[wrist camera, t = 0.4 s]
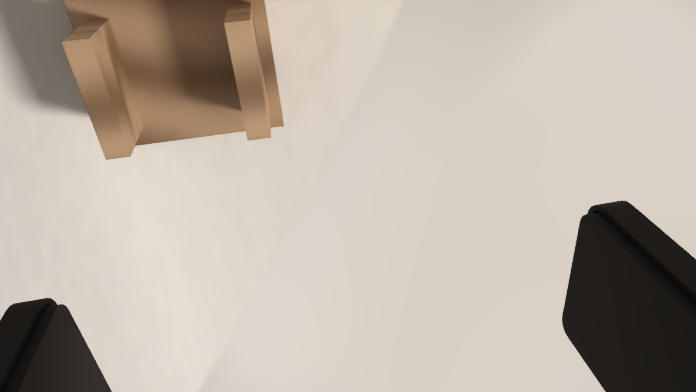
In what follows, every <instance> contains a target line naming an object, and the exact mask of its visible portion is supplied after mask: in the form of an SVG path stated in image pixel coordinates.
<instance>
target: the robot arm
mask: <svg viewBox="0 0 696 392" xmlns="http://www.w3.org/2000/svg"><path fill="white" fill-rule="evenodd" d="M562 322H563V327H564V330H565V333H566V335H567V336H568V338H569V339H570V341H571V342H572V344H573V345H574V347H575V348H576V349H577V351H578V352H579V354H580V355H581V357H582V358H583V360H584V361H585V362H586V364H587V365H588V367H589V368H590V369H591V371H592V373H593V374H594V375H595V377H596V378H597V380H598V381H599V383H600V384H601V386H602V387H603V389H604V390H605V391H606V392H696V259H695V258H694V257H692V256H691V255H690V254H689V253H688V252H687V251H685V250H684V249H683V248H682V247H680V246H679V245H678V244H677V243H676V242H675V241H674V240H672V239H671V238H670V237H669V236H668V235H666V234H665V233H664V232H663V231H662V230H661V229H660V228H658V227H657V226H656V225H655V224H654V223H652V222H651V221H650V220H649V219H648V218H647V217H646V216H644V215H643V214H642V213H641V212H639V211H638V210H637V209H636V208H635V207H634V206H633V205H631V204H630V203H628V202H627V201H617V202H612V203H605V204H600V205H594V206H592V207H591V208H590V209H589V211H588V214H587V215H584V216H583V217H582V218H581V221H580V225H579V230H578V236H577V241H576V246H575V252H574V257H573V262H572V268H571V273H570V278H569V284H568V289H567V294H566V300H565V306H564V311H563V316H562ZM0 392H112V391H111V389H110V388H109V386H108V384H107V382H106V380H105V378H104V376H103V374H102V372H101V370H100V368H99V367H98V365H97V363H96V361H95V359H94V357H93V355H92V353H91V351H90V349H89V348H88V346H87V344H86V342H85V340H84V338H83V336H82V334H81V332H80V330H79V329H78V327H77V325H76V323H75V321H74V319H73V317H72V315H71V313H70V311H69V310H68V308H67V307H66V306H65V305H62V304H60V305H57V304H56V302H55V301H54V300H52V299H51V298H45V299H39V300H33V301H27V302H21V303H15V304H13V305H11V306H9V308H8V309H7V310H6V312H5V314H4V315H3V317H2V319H1V320H0Z"/></svg>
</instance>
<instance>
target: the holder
mask: <svg viewBox="0 0 696 392" xmlns="http://www.w3.org/2000/svg"><path fill="white" fill-rule="evenodd" d="M63 2H64V4H65V7H66V10H67V13H68V15H69V18H70V21H71V24H72V26H73V29H74V31H73V32H72V33H71V34H70V35H69V36H68V37H66V38H65V39H64V40H63V41H62V45H63V47H64V50H65V53H66V55H67V58H68V61H69V63H70V66H71V68H72V71H73V74H74V76H75V79H76V82H77V84H78V87H79V90H80V92H81V95H82V97H83V100H84V103H85V105H86V108H87V111H88V113H89V116H90V119H91V121H92V124H93V127H94V129H95V132H96V134H97V137H98V140H99V142H100V145H101V148H102V150H103V153H104V156H105V158H106V160H108V159H115V158H123V157H130V156H131V153H132V151H133V149H134V147H135V146H136V145H144V144H151V143H159V142H166V141H174V140H181V139H189V138H196V137H204V136H211V135H219V134H226V133H234V132H241V131H246V134H247V139H248V140H256V139H263V138H271V131H270V128H271V127H279V126H284V124H283V117H282V110H281V104H280V98H279V91H278V85H277V79H276V72H275V66H274V60H273V53H272V47H271V41H270V34H269V28H268V22H267V15H266V9H265V3H264V0H63Z"/></svg>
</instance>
